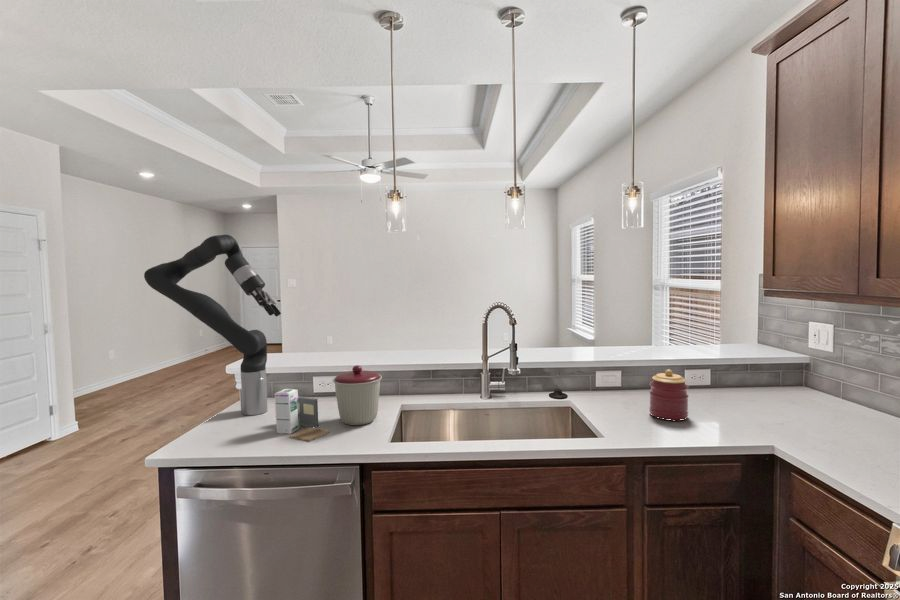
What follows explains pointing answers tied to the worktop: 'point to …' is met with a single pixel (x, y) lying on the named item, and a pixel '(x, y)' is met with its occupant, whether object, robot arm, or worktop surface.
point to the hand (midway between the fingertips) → (275, 314)
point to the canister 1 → (357, 395)
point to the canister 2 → (669, 396)
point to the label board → (308, 412)
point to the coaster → (309, 433)
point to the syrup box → (287, 411)
